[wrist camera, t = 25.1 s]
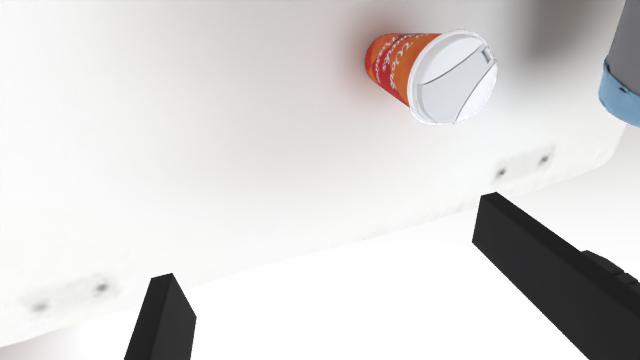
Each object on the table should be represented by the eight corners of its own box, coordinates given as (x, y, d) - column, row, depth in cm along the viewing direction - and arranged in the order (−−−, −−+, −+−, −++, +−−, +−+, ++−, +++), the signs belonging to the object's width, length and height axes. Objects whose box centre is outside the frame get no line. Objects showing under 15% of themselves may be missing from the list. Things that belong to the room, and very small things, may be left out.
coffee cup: (390, 7, 35) (474, 5, 22) (428, 56, 39) (518, 77, 26) (342, 64, 37) (395, 92, 24) (383, 105, 41) (446, 148, 28)
